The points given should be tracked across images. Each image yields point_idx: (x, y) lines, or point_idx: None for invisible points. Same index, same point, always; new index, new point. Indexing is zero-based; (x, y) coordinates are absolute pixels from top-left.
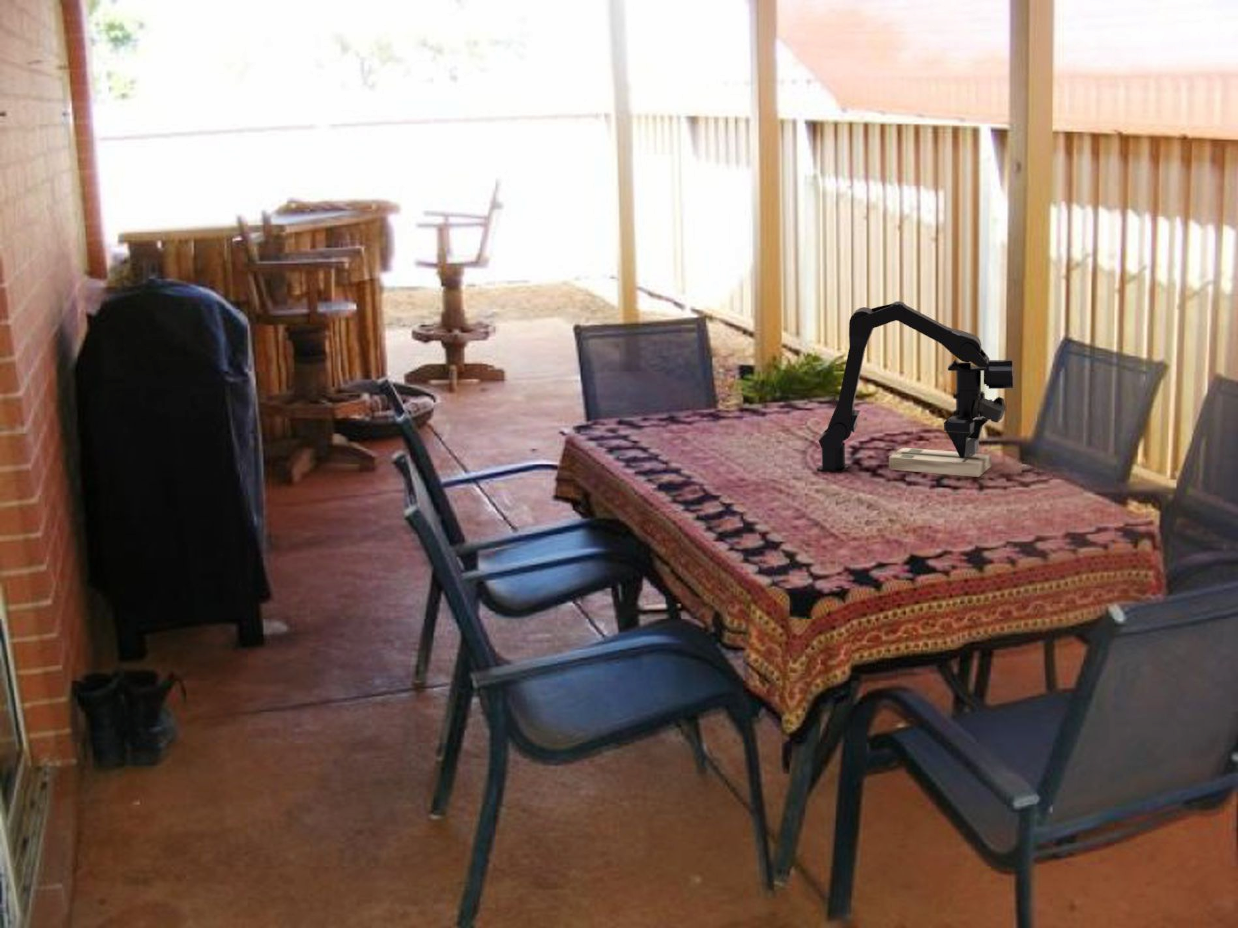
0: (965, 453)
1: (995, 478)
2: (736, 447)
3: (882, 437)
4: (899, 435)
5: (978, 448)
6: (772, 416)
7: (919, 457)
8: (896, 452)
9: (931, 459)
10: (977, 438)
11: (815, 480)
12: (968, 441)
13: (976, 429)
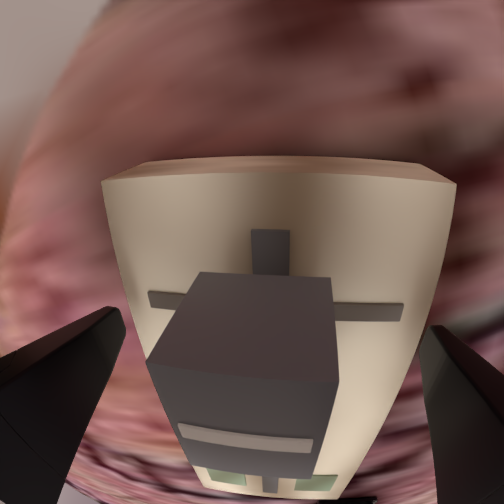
0: (444, 342)
1: (400, 57)
2: None
3: (82, 453)
4: None
5: (194, 286)
6: (106, 501)
7: (323, 465)
8: (269, 496)
9: (351, 439)
10: (65, 351)
11: (428, 495)
12: (323, 430)
13: (19, 415)
